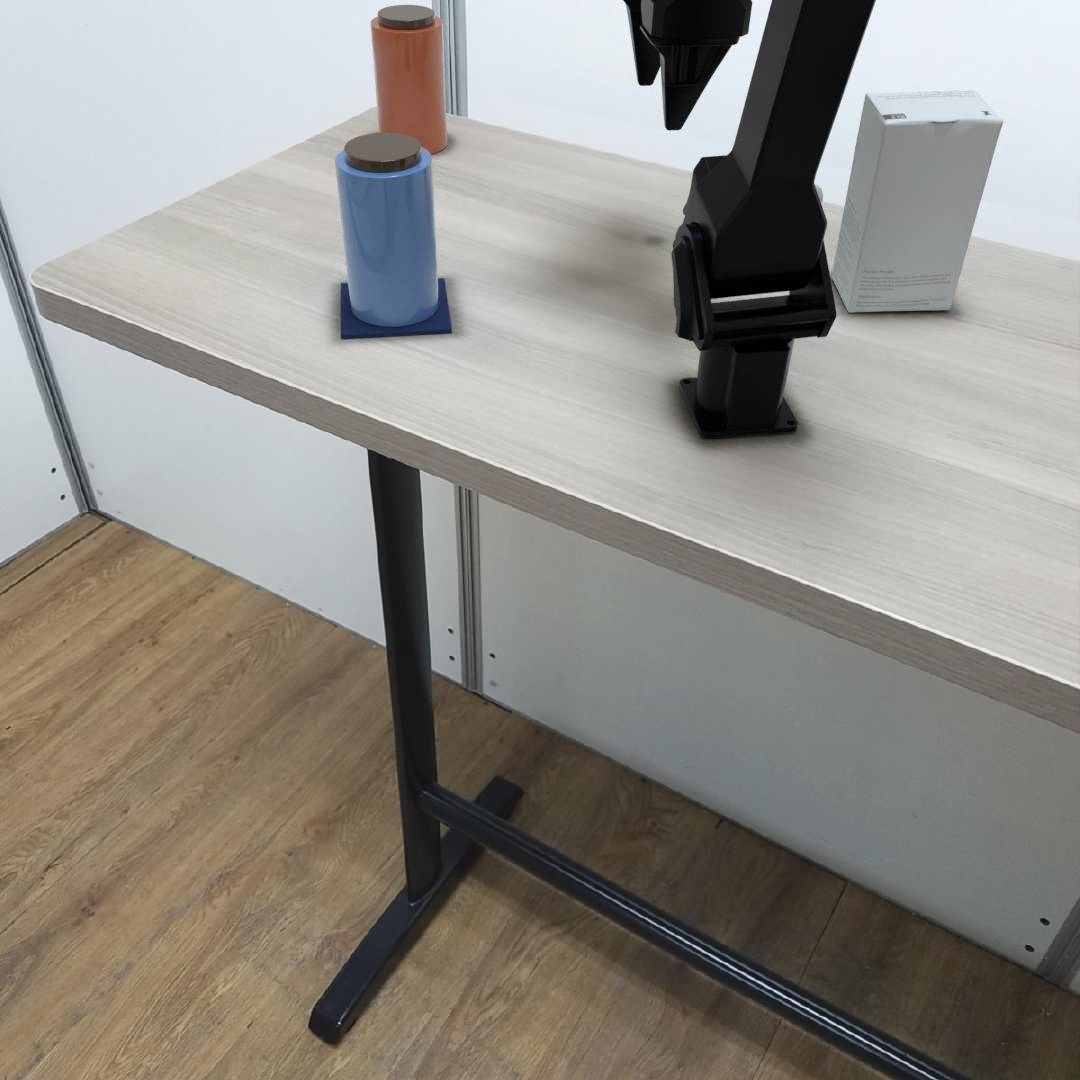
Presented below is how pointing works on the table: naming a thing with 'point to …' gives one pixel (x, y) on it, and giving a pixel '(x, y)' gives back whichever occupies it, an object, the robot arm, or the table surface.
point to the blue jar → (388, 228)
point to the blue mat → (360, 329)
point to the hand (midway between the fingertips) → (658, 106)
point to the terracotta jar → (410, 74)
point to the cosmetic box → (913, 198)
